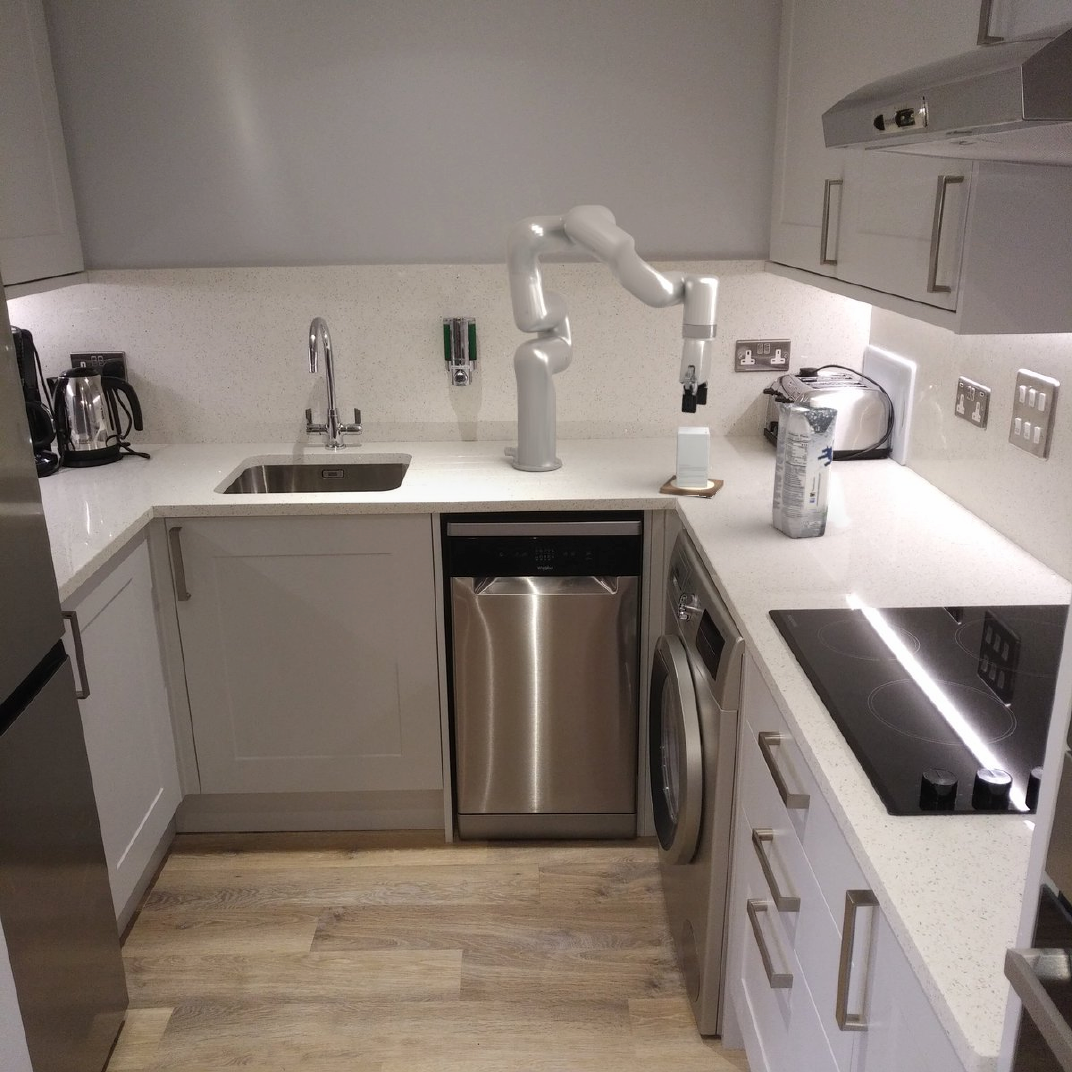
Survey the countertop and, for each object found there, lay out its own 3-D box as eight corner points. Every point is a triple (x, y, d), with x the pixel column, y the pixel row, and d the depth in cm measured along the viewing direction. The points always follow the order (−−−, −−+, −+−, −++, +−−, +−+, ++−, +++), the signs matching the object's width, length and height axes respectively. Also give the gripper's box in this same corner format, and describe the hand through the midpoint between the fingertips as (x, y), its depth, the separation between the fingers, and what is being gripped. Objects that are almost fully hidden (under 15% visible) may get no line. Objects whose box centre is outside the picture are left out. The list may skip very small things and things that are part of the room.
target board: (659, 493, 232) (660, 487, 231) (673, 480, 242) (673, 474, 242) (711, 498, 227) (712, 492, 227) (723, 485, 238) (723, 479, 238)
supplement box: (707, 479, 238) (710, 426, 234) (707, 488, 231) (710, 433, 227) (675, 478, 239) (677, 425, 235) (674, 486, 232) (677, 432, 228)
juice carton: (791, 541, 199) (802, 405, 191) (765, 525, 209) (775, 395, 200) (831, 537, 202) (844, 402, 193) (804, 521, 211) (815, 393, 203)
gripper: (692, 326, 232) (687, 400, 238) (672, 335, 217) (667, 414, 223) (724, 328, 230) (718, 402, 235) (706, 338, 215) (701, 417, 220)
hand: (694, 408), depth 229 cm, fingers open, 9 cm apart
